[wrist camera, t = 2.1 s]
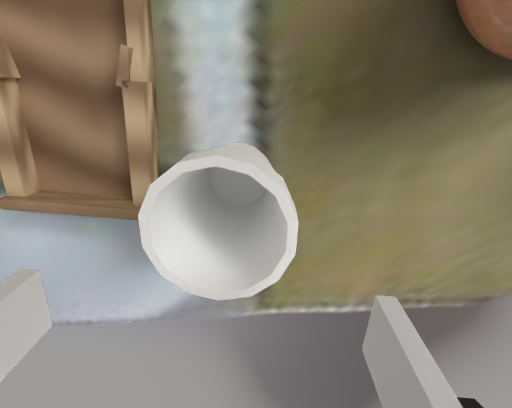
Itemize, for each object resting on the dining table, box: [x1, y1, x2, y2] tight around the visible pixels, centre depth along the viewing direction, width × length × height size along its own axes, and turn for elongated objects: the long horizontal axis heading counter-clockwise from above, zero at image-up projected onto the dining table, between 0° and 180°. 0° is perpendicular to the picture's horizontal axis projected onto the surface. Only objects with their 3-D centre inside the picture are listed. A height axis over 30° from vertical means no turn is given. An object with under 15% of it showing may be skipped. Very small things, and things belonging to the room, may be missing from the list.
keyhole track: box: [0, 0, 160, 220], centre depth 25 cm, size 23×14×4 cm, turn 176°
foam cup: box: [138, 143, 298, 301], centre depth 23 cm, size 10×9×13 cm
